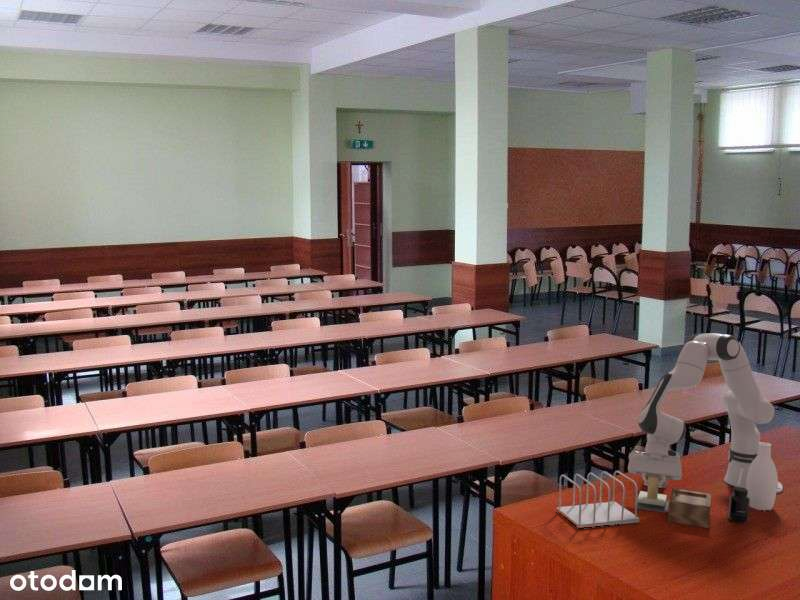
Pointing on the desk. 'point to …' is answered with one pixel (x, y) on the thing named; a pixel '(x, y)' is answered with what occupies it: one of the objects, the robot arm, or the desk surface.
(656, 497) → the lid
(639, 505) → the mat
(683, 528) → the desk surface
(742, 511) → the supplement bottle
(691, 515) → the box
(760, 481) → the bottle
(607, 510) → the file sorter
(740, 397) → the robot arm
